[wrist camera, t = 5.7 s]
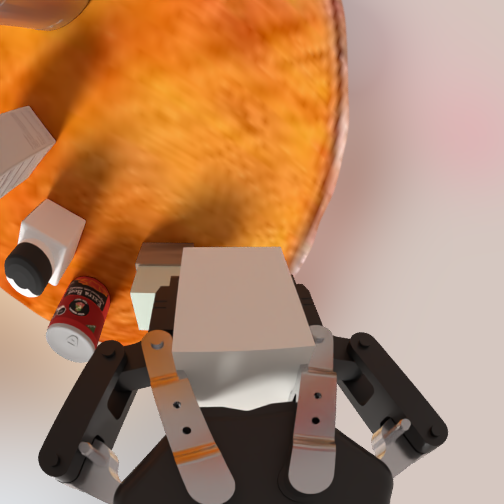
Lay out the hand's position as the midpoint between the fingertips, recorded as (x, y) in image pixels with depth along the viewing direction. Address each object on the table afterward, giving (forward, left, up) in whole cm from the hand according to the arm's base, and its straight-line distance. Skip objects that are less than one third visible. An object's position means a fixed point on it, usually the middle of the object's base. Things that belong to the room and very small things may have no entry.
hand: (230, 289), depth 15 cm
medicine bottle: (+8, -23, -22) cm, 33 cm away
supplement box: (-5, -26, -22) cm, 35 cm away
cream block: (0, 0, 0) cm, 0 cm away
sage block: (+14, -7, -17) cm, 23 cm away
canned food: (+20, -21, -22) cm, 37 cm away
